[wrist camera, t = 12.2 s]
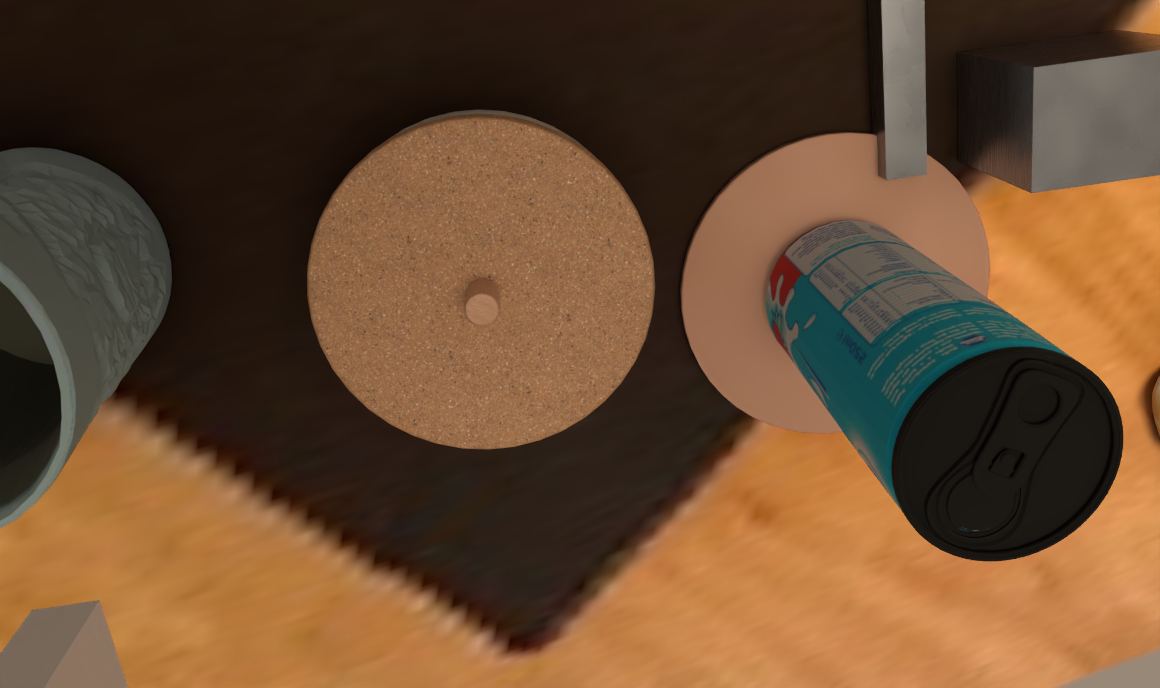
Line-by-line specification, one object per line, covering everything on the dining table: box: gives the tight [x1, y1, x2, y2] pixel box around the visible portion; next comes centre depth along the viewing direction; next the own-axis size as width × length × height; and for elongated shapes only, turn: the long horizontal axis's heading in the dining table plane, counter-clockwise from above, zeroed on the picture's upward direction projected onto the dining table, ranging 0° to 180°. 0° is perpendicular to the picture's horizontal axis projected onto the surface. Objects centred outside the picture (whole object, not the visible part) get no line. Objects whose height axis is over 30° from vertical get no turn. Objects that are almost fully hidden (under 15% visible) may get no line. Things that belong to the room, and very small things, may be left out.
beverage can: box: [766, 220, 1123, 561], centre depth 34 cm, size 6×6×15 cm
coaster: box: [680, 131, 990, 433], centre depth 42 cm, size 12×12×1 cm
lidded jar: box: [307, 109, 655, 449], centre depth 36 cm, size 11×11×9 cm
